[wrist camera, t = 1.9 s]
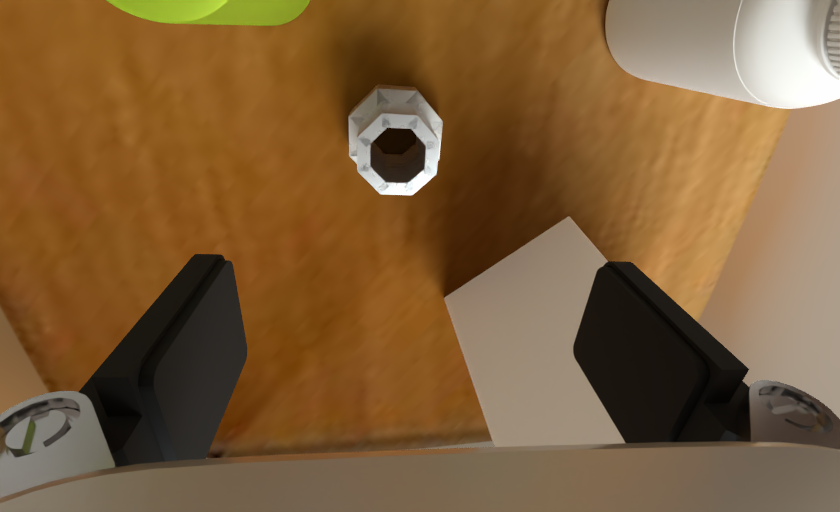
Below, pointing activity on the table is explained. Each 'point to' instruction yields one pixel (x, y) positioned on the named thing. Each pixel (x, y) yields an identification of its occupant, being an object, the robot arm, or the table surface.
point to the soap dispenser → (215, 11)
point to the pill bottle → (732, 47)
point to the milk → (533, 342)
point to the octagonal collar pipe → (395, 111)
